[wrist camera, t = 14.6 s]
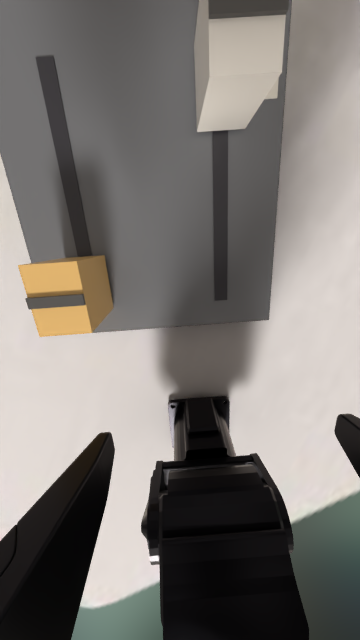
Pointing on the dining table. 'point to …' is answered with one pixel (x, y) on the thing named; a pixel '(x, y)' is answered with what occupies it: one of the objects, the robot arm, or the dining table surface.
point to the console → (137, 160)
